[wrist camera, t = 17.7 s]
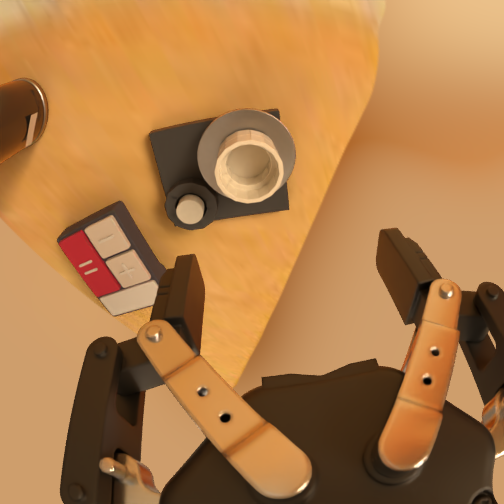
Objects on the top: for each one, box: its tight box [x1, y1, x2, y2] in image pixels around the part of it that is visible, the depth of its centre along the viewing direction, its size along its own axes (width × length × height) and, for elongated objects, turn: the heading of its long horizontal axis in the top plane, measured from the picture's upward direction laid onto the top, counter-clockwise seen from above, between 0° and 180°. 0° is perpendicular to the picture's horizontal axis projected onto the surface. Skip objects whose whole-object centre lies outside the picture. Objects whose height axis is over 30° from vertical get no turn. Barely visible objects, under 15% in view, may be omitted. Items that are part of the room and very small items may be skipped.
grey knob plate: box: [149, 109, 289, 230], centre depth 33 cm, size 14×12×3 cm
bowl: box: [214, 130, 284, 203], centre depth 28 cm, size 6×6×4 cm
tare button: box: [176, 194, 204, 224], centre depth 34 cm, size 3×3×2 cm
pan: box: [197, 108, 296, 198], centre depth 30 cm, size 10×10×1 cm
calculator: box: [57, 201, 166, 316], centre depth 39 cm, size 11×4×15 cm
